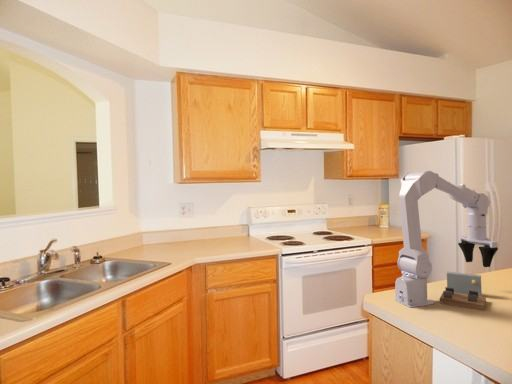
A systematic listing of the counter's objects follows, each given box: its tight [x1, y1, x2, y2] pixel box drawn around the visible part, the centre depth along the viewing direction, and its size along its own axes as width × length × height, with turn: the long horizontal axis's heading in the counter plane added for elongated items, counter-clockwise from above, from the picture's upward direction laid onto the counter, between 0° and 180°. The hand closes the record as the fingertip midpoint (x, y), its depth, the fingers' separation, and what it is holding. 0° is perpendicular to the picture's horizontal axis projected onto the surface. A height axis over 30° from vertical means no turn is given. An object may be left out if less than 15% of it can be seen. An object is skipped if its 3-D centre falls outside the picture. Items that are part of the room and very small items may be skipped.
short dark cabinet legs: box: [442, 286, 478, 302], centre depth 104 cm, size 5×9×2 cm, turn 52°
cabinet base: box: [439, 292, 487, 311], centre depth 104 cm, size 9×12×2 cm
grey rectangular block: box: [446, 271, 483, 297], centre depth 112 cm, size 3×10×7 cm, turn 52°
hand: (477, 264), depth 113 cm, fingers open, 7 cm apart
